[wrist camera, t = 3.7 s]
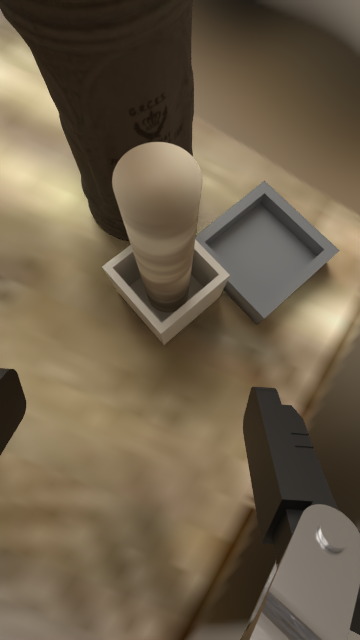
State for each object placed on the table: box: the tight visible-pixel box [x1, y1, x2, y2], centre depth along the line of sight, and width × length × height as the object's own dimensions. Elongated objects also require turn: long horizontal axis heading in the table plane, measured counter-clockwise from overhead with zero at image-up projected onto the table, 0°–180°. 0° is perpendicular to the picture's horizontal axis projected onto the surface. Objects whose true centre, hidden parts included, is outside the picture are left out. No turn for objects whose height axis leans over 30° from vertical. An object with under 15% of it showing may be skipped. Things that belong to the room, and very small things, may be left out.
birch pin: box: [112, 142, 202, 313], centre depth 21 cm, size 4×4×16 cm
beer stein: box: [0, 0, 194, 241], centre depth 23 cm, size 15×11×20 cm
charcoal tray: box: [195, 181, 339, 324], centre depth 29 cm, size 10×10×2 cm
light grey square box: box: [102, 239, 230, 345], centre depth 26 cm, size 7×7×6 cm
